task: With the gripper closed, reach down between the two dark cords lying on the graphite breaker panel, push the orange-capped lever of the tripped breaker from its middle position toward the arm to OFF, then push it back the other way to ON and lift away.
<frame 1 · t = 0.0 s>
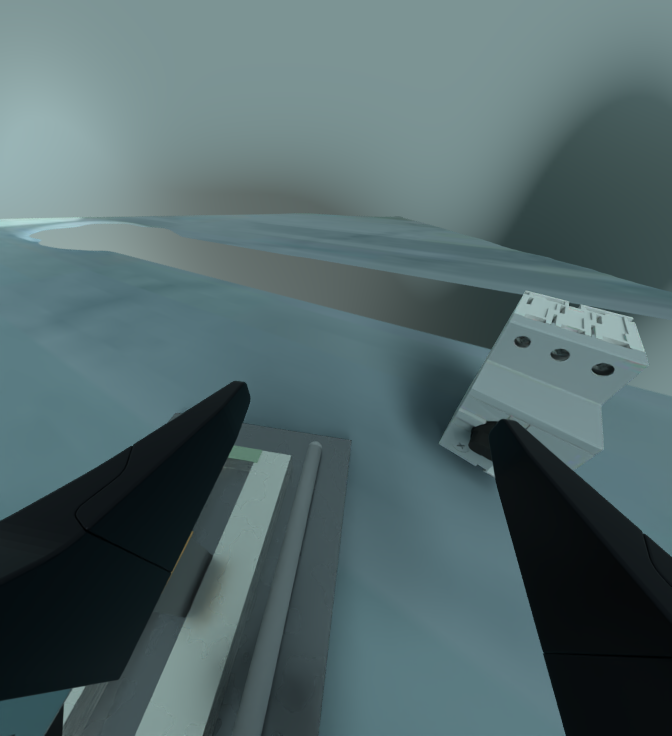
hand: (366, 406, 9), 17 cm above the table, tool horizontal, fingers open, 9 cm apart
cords: (183, 581, 16), in the breaker panel, point 1 cm above the table
breaker panel: (192, 585, 17), on the table
breaker lever: (165, 573, 14), point 5 cm above the table, slide at 0.0 cm
circuit breaker: (477, 450, 26), on the table
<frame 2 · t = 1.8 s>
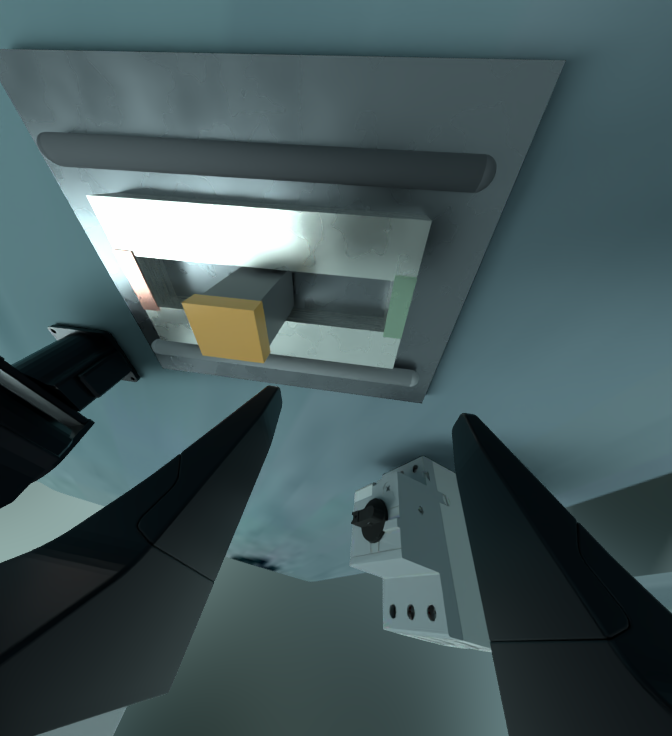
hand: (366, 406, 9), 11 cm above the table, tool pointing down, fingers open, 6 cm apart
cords: (269, 287, 16), in the breaker panel, point 1 cm above the table
breaker panel: (278, 278, 17), on the table
breaker lever: (252, 305, 14), point 5 cm above the table, slide at 0.0 cm
circuit breaker: (406, 467, 32), on the table
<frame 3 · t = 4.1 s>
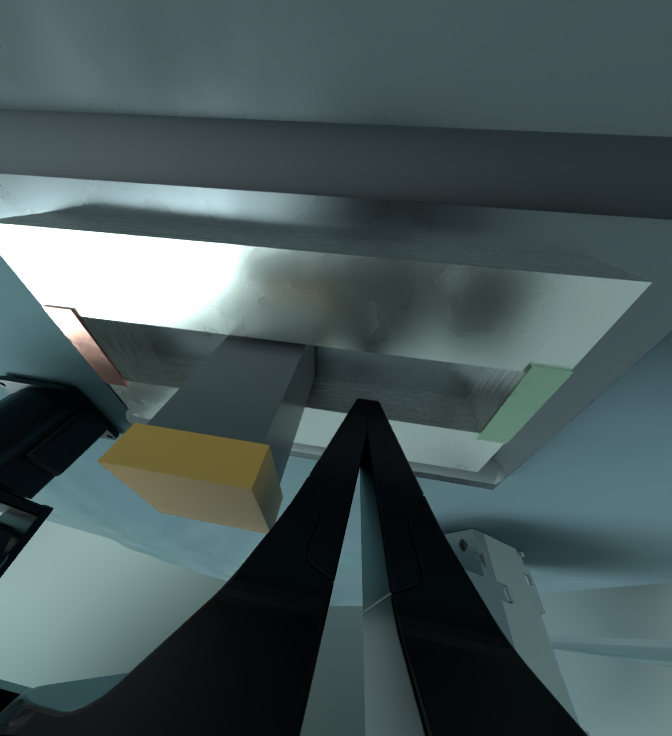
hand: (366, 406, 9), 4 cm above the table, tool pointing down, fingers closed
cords: (296, 357, 10), in the breaker panel, point 1 cm above the table
breaker panel: (306, 336, 12), on the table
breaker lever: (252, 403, 8), point 5 cm above the table, slide at -0.8 cm, touching gripper
circuit breaker: (447, 534, 26), on the table
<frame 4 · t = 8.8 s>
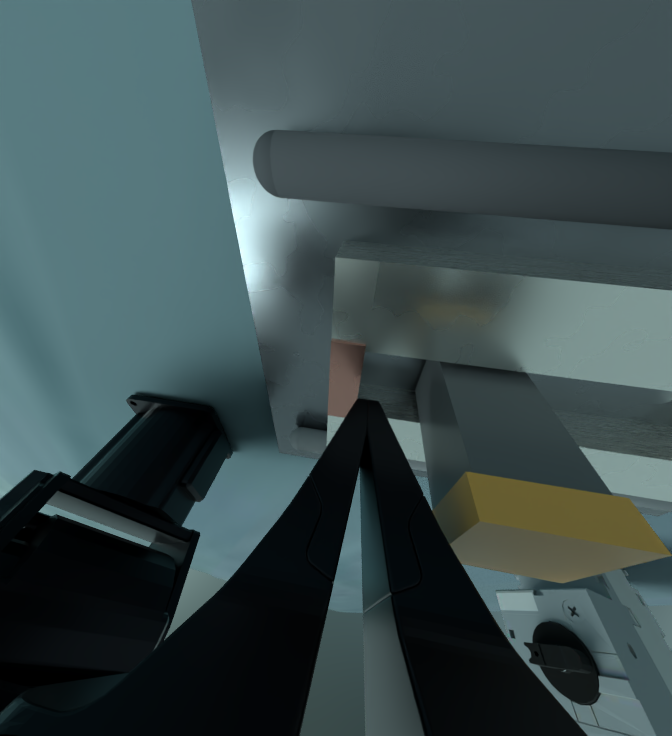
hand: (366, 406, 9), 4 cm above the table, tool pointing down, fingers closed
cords: (554, 391, 10), in the breaker panel, point 1 cm above the table
breaker panel: (534, 365, 11), on the table
breaker lever: (482, 436, 8), point 5 cm above the table, slide at -3.8 cm, touching gripper
circuit breaker: (547, 552, 26), on the table
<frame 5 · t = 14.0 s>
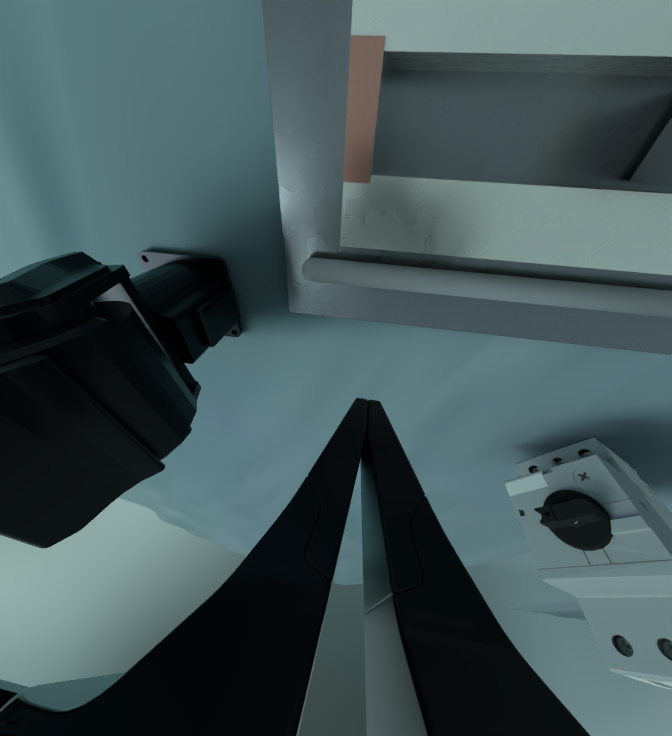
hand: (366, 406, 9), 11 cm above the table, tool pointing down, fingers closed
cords: (570, 133, 10), in the breaker panel, point 1 cm above the table
breaker panel: (548, 137, 11), on the table
circuit breaker: (555, 453, 26), on the table
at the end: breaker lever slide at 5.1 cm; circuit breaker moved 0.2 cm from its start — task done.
